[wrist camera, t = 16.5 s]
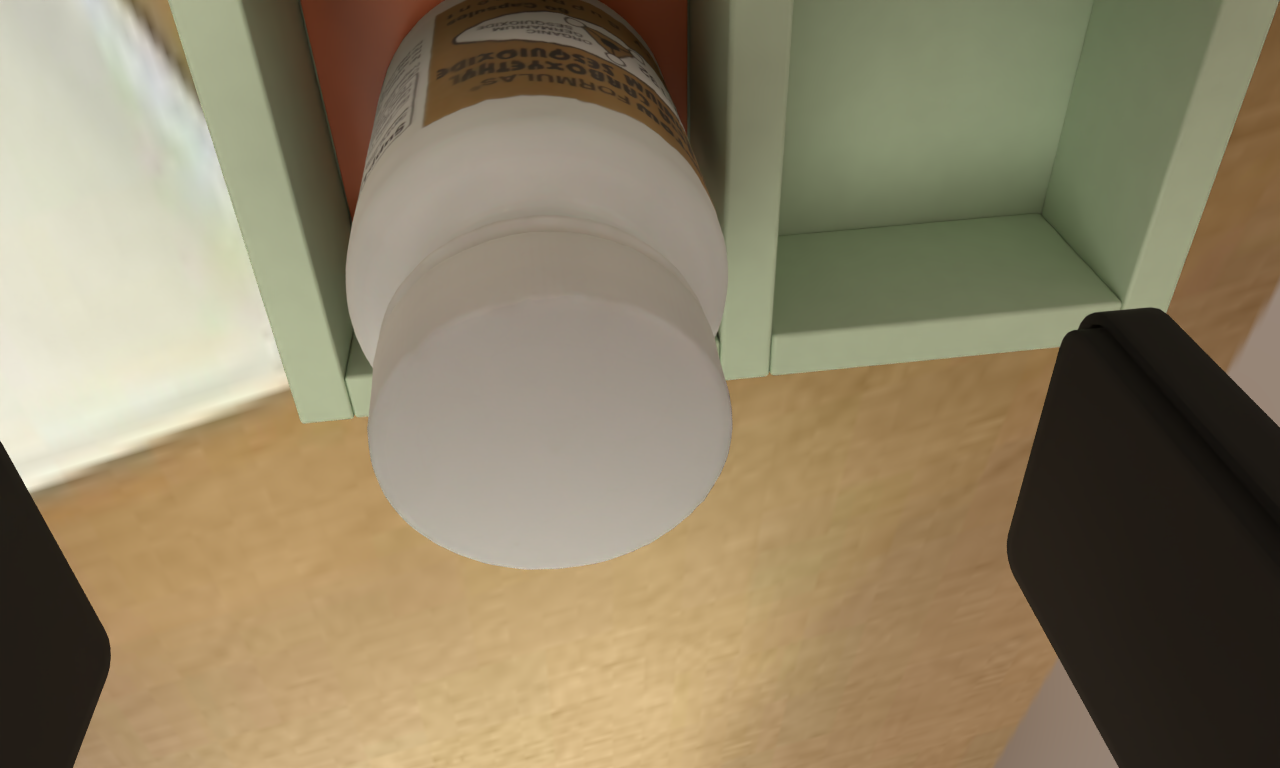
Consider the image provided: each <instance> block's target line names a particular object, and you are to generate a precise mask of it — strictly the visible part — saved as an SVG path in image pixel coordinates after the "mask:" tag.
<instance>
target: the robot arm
mask: <svg viewBox="0 0 1280 768" xmlns="http://www.w3.org/2000/svg"><path fill="white" fill-rule="evenodd" d="M1007 554H1008V561H1009V564H1010V568H1011V571H1012V573H1013V575H1014V577H1015V579H1016V581H1017V583H1018V585H1019V586H1020V588H1021V590H1022V592H1023V594H1024V596H1025V597H1026V599H1027V601H1028V603H1029V605H1030V606H1031V608H1032V610H1033V612H1034V614H1035V616H1036V617H1037V619H1038V621H1039V623H1040V625H1041V626H1042V628H1043V630H1044V632H1045V634H1046V636H1047V637H1048V639H1049V641H1050V643H1051V645H1052V647H1053V648H1054V650H1055V652H1056V654H1057V656H1058V657H1059V659H1060V661H1061V663H1062V665H1063V666H1064V668H1065V670H1066V672H1067V674H1068V676H1069V677H1070V679H1071V681H1072V683H1073V685H1074V687H1075V688H1076V690H1077V692H1078V694H1079V696H1080V697H1081V699H1082V701H1083V703H1084V705H1085V707H1086V708H1087V710H1088V712H1089V714H1090V716H1091V718H1092V719H1093V721H1094V723H1095V725H1096V727H1097V728H1098V730H1099V732H1100V734H1101V736H1102V738H1103V739H1104V741H1105V743H1106V745H1107V747H1108V748H1109V750H1110V752H1111V754H1112V756H1113V757H1114V759H1115V761H1116V763H1117V765H1118V767H1119V768H1280V427H1278V425H1277V424H1276V423H1275V422H1274V421H1273V420H1272V419H1271V418H1270V417H1269V416H1267V414H1266V413H1265V412H1264V411H1263V410H1262V409H1261V408H1260V407H1259V406H1258V405H1257V404H1256V403H1255V402H1254V401H1253V400H1252V399H1251V398H1250V397H1249V396H1248V395H1247V394H1246V393H1245V392H1244V391H1243V390H1242V389H1241V388H1240V387H1239V386H1238V385H1237V384H1236V383H1235V382H1234V381H1233V380H1232V379H1231V378H1230V377H1229V376H1228V375H1227V374H1226V373H1225V372H1224V371H1223V370H1222V369H1221V368H1220V367H1219V366H1218V365H1217V364H1216V363H1215V362H1214V361H1213V360H1212V359H1211V358H1210V357H1209V356H1208V355H1207V354H1206V353H1205V352H1204V351H1203V350H1202V349H1201V348H1200V347H1199V346H1198V345H1197V344H1196V343H1195V342H1194V341H1193V339H1192V338H1191V337H1190V336H1189V335H1188V334H1187V333H1186V332H1185V331H1184V330H1183V329H1182V328H1181V327H1180V326H1179V325H1178V324H1177V323H1176V322H1175V321H1174V320H1173V319H1172V318H1171V317H1170V316H1169V315H1168V314H1166V313H1165V312H1163V311H1162V310H1161V309H1158V308H1152V307H1148V308H1137V309H1126V310H1115V311H1104V312H1094V313H1092V314H1089V315H1087V316H1086V317H1085V318H1084V319H1083V321H1082V322H1081V323H1080V326H1079V328H1078V330H1073V331H1070V332H1068V333H1067V334H1066V335H1065V336H1064V338H1063V340H1062V343H1061V345H1060V348H1059V352H1058V356H1057V359H1056V363H1055V367H1054V370H1053V374H1052V377H1051V381H1050V385H1049V388H1048V392H1047V396H1046V399H1045V403H1044V406H1043V410H1042V414H1041V417H1040V421H1039V425H1038V428H1037V432H1036V435H1035V439H1034V443H1033V446H1032V450H1031V454H1030V457H1029V461H1028V464H1027V468H1026V472H1025V475H1024V479H1023V483H1022V486H1021V490H1020V494H1019V497H1018V501H1017V504H1016V508H1015V512H1014V515H1013V519H1012V523H1011V526H1010V530H1009V533H1008V539H1007ZM110 659H111V653H110V643H109V638H108V636H107V633H106V631H105V629H104V627H103V626H102V624H101V622H100V620H99V618H98V616H97V615H96V613H95V611H94V609H93V607H92V606H91V604H90V602H89V600H88V598H87V597H86V595H85V593H84V591H83V589H82V588H81V586H80V584H79V582H78V580H77V578H76V577H75V575H74V573H73V571H72V569H71V568H70V566H69V564H68V562H67V560H66V559H65V557H64V555H63V553H62V551H61V549H60V548H59V546H58V544H57V542H56V540H55V539H54V537H53V535H52V533H51V531H50V530H49V528H48V526H47V524H46V522H45V521H44V519H43V517H42V515H41V513H40V511H39V510H38V508H37V506H36V504H35V502H34V501H33V499H32V497H31V495H30V493H29V492H28V490H27V488H26V486H25V484H24V483H23V481H22V479H21V477H20V475H19V473H18V472H17V470H16V468H15V466H14V464H13V463H12V461H11V459H10V457H9V455H8V454H7V452H6V450H5V448H4V446H3V444H2V443H1V442H0V768H73V766H74V763H75V760H76V758H77V755H78V752H79V750H80V747H81V744H82V742H83V739H84V736H85V734H86V731H87V729H88V726H89V723H90V721H91V718H92V715H93V713H94V710H95V707H96V705H97V702H98V699H99V697H100V694H101V691H102V689H103V686H104V684H105V681H106V678H107V675H108V671H109V668H110Z"/></svg>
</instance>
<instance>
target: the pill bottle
mask: <svg viewBox="0 0 1280 768" xmlns="http://www.w3.org/2000/svg"><path fill="white" fill-rule="evenodd" d="M727 287H728V261H727V252H726V245H725V241H724V236H723V233H722V230H721V227H720V224H719V221H718V217H717V213H716V209H715V207H714V205H713V202H712V200H711V198H710V195H709V192H708V190H707V187H706V185H705V182H704V179H703V176H702V174H701V172H700V169H699V166H698V163H697V160H696V158H695V155H694V153H693V150H692V148H691V145H690V143H689V141H688V138H687V135H686V133H685V130H684V127H683V125H682V123H681V121H680V118H679V115H678V113H677V109H676V106H675V104H674V103H673V101H672V98H671V95H670V93H669V91H668V89H667V87H666V84H665V81H664V78H663V75H662V73H661V70H660V68H659V65H658V63H657V61H656V59H655V57H654V55H653V53H652V52H651V50H650V48H649V47H648V45H647V44H646V43H645V41H644V40H643V39H642V37H641V36H640V35H639V34H638V33H637V32H636V30H635V29H634V28H633V27H632V26H631V25H630V24H629V23H628V22H627V21H626V20H625V19H623V18H622V17H621V16H620V15H619V14H617V13H616V12H615V11H614V10H612V9H611V8H609V7H608V6H607V5H605V4H604V3H602V2H600V1H599V0H445V1H443V2H441V3H440V4H438V5H437V6H436V7H434V8H433V9H431V10H430V11H429V12H428V13H427V14H426V15H424V16H423V17H422V18H421V19H420V20H419V21H418V22H417V23H416V25H415V26H414V27H413V28H412V29H411V31H410V32H409V33H408V34H407V35H406V37H405V38H404V39H403V41H402V42H401V44H400V46H399V47H398V49H397V51H396V52H395V54H394V56H393V58H392V60H391V63H390V65H389V67H388V70H387V73H386V76H385V79H384V82H383V85H382V89H381V93H380V96H379V100H378V105H377V110H376V115H375V120H374V125H373V129H372V134H371V139H370V143H369V147H368V152H367V157H366V162H365V168H364V173H363V177H362V182H361V187H360V192H359V197H358V201H357V205H356V210H355V214H354V218H353V222H352V228H351V233H350V239H349V245H348V251H347V260H346V296H347V304H348V310H349V315H350V319H351V322H352V325H353V328H354V332H355V335H356V338H357V340H358V342H359V344H360V346H361V348H362V351H363V353H364V354H365V356H366V358H367V360H368V361H369V363H370V365H371V366H372V368H373V376H372V388H371V398H370V408H369V418H368V442H369V450H370V457H371V462H372V466H373V470H374V472H375V475H376V477H377V480H378V482H379V485H380V487H381V489H382V491H383V493H384V495H385V496H386V498H387V499H388V501H389V502H390V504H391V505H392V507H393V508H394V509H395V510H396V511H397V513H398V514H399V515H400V516H401V517H402V518H403V519H404V520H405V521H406V522H407V523H408V524H409V525H410V526H411V527H413V528H414V529H415V530H417V531H418V532H419V533H421V534H422V535H423V536H425V537H427V538H428V539H430V540H431V541H433V542H434V543H436V544H437V545H439V546H441V547H443V548H446V549H448V550H450V551H452V552H454V553H456V554H459V555H462V556H465V557H468V558H470V559H473V560H476V561H480V562H483V563H486V564H491V565H497V566H503V567H510V568H517V569H561V568H568V567H577V566H584V565H589V564H596V563H599V562H604V561H607V560H610V559H613V558H616V557H619V556H622V555H625V554H627V553H630V552H633V551H635V550H637V549H639V548H641V547H643V546H645V545H648V544H650V543H652V542H653V541H655V540H657V539H658V538H659V537H661V536H662V535H664V534H665V533H667V532H669V531H670V530H672V529H673V528H674V527H676V526H677V525H678V524H679V523H680V522H682V521H683V520H684V519H685V518H686V517H688V516H689V515H690V514H691V513H692V512H693V511H694V510H695V508H696V507H697V506H698V505H700V504H701V503H702V502H703V501H704V500H705V498H706V496H707V495H708V493H709V492H710V490H711V489H712V487H713V486H714V484H715V482H716V480H717V479H718V477H719V475H720V474H721V471H722V469H723V467H724V464H725V462H726V459H727V456H728V453H729V448H730V442H731V435H732V407H731V402H730V396H729V391H728V387H727V384H726V380H725V377H724V373H723V370H722V366H721V363H720V359H719V355H718V351H717V347H716V342H715V336H716V334H717V332H718V329H719V326H720V323H721V320H722V316H723V313H724V308H725V302H726V296H727Z"/></svg>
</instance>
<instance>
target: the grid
mask: <svg viewBox="0 0 1280 768" xmlns="http://www.w3.org/2000/svg"><path fill="white" fill-rule="evenodd" d="M443 1H445V0H168V2H169V5H170V8H171V11H172V14H173V18H174V21H175V24H176V27H177V30H178V33H179V37H180V40H181V43H182V46H183V49H184V52H185V56H186V59H187V62H188V65H189V68H190V71H191V75H192V78H193V81H194V84H195V87H196V91H197V94H198V97H199V100H200V103H201V106H202V110H203V113H204V116H205V119H206V122H207V125H208V129H209V132H210V135H211V138H212V141H213V145H214V148H215V151H216V154H217V157H218V160H219V164H220V167H221V170H222V173H223V176H224V179H225V183H226V186H227V189H228V192H229V195H230V198H231V202H232V205H233V208H234V211H235V214H236V218H237V221H238V224H239V227H240V230H241V233H242V237H243V240H244V243H245V246H246V249H247V252H248V256H249V259H250V262H251V265H252V268H253V271H254V275H255V278H256V281H257V284H258V287H259V291H260V294H261V297H262V300H263V303H264V306H265V310H266V313H267V316H268V319H269V322H270V325H271V329H272V332H273V335H274V338H275V341H276V344H277V348H278V351H279V354H280V357H281V360H282V364H283V367H284V370H285V373H286V376H287V379H288V383H289V386H290V389H291V392H292V395H293V398H294V402H295V405H296V408H297V411H298V414H299V418H300V420H301V422H302V423H313V422H323V421H333V420H343V419H351V418H353V417H354V414H355V415H356V417H368V416H369V408H370V398H371V388H372V376H373V368H372V366H371V365H370V363H369V361H368V360H367V358H366V356H365V354H364V353H363V351H362V348H361V346H360V344H359V342H358V340H357V338H356V335H355V332H354V328H353V325H352V322H351V319H350V315H349V310H348V304H347V296H346V260H347V251H348V245H349V239H350V233H351V228H352V222H353V218H354V214H355V210H356V205H357V201H358V197H359V192H360V187H361V182H362V177H363V173H364V168H365V162H366V157H367V152H368V147H369V143H370V139H371V134H372V129H373V125H374V120H375V115H376V110H377V105H378V100H379V96H380V93H381V89H382V85H383V82H384V79H385V76H386V73H387V70H388V67H389V65H390V63H391V60H392V58H393V56H394V54H395V52H396V51H397V49H398V47H399V46H400V44H401V42H402V41H403V39H404V38H405V37H406V35H407V34H408V33H409V32H410V31H411V29H412V28H413V27H414V26H415V25H416V23H417V22H418V21H419V20H420V19H421V18H422V17H423V16H424V15H426V14H427V13H428V12H429V11H430V10H431V9H433V8H434V7H436V6H437V5H438V4H440V3H441V2H443ZM599 1H600V2H602V3H604V4H605V5H607V6H608V7H609V8H611V9H612V10H614V11H615V12H616V13H617V14H619V15H620V16H621V17H622V18H623V19H625V20H626V21H627V22H628V23H629V24H630V25H631V26H632V27H633V28H634V29H635V30H636V32H637V33H638V34H639V35H640V36H641V37H642V39H643V40H644V41H645V43H646V44H647V45H648V47H649V48H650V50H651V52H652V53H653V55H654V57H655V59H656V61H657V63H658V65H659V68H660V70H661V73H662V75H663V78H664V81H665V84H666V87H667V89H668V91H669V93H670V95H671V98H672V101H673V103H674V104H675V106H676V109H677V113H678V115H679V118H680V121H681V123H682V125H683V127H684V130H685V133H686V135H687V138H688V141H689V143H690V145H691V148H692V150H693V153H694V155H695V158H696V160H697V163H698V166H699V169H700V172H701V174H702V176H703V179H704V182H705V185H706V187H707V190H708V192H709V195H710V198H711V200H712V202H713V205H714V207H715V209H716V213H717V217H718V221H719V224H720V227H721V230H722V233H723V236H724V241H725V245H726V252H727V261H728V287H727V296H726V302H725V308H724V313H723V316H722V320H721V323H720V326H719V329H718V332H717V334H716V336H715V342H716V347H717V351H718V355H719V359H720V363H721V366H722V370H723V373H724V377H725V380H735V379H745V378H755V377H765V376H767V375H768V373H769V371H770V374H772V375H785V374H795V373H805V372H815V371H825V370H835V369H845V368H855V367H865V366H875V365H885V364H895V363H904V362H914V361H924V360H934V359H944V358H954V357H964V356H974V355H984V354H994V353H1004V352H1014V351H1024V350H1034V349H1044V348H1054V347H1060V345H1061V343H1062V340H1063V338H1064V336H1065V335H1066V334H1067V333H1068V332H1070V331H1073V330H1078V328H1079V326H1080V323H1081V322H1082V321H1083V319H1084V318H1085V317H1086V316H1087V315H1089V314H1092V313H1094V312H1104V311H1115V310H1126V309H1137V308H1148V307H1152V308H1158V309H1161V310H1162V311H1163V312H1165V313H1167V310H1168V307H1169V304H1170V302H1171V299H1172V296H1173V293H1174V290H1175V288H1176V285H1177V282H1178V279H1179V277H1180V274H1181V271H1182V268H1183V266H1184V263H1185V260H1186V257H1187V255H1188V252H1189V249H1190V246H1191V243H1192V241H1193V238H1194V235H1195V232H1196V230H1197V227H1198V224H1199V221H1200V219H1201V216H1202V213H1203V210H1204V208H1205V205H1206V202H1207V199H1208V196H1209V194H1210V191H1211V188H1212V185H1213V183H1214V180H1215V177H1216V174H1217V172H1218V169H1219V166H1220V163H1221V161H1222V158H1223V155H1224V152H1225V149H1226V147H1227V144H1228V141H1229V138H1230V136H1231V133H1232V130H1233V127H1234V125H1235V122H1236V119H1237V116H1238V113H1239V111H1240V108H1241V105H1242V102H1243V100H1244V97H1245V94H1246V91H1247V89H1248V86H1249V83H1250V80H1251V78H1252V75H1253V72H1254V69H1255V66H1256V64H1257V61H1258V58H1259V55H1260V53H1261V50H1262V47H1263V44H1264V42H1265V39H1266V36H1267V33H1268V31H1269V28H1270V25H1271V22H1272V19H1273V17H1274V14H1275V11H1276V8H1277V6H1278V3H1279V0H599Z"/></svg>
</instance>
